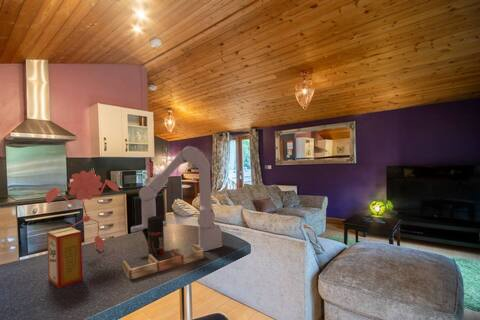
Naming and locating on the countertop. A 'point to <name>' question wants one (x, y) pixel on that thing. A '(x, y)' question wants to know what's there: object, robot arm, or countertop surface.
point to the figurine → (84, 194)
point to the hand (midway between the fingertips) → (149, 245)
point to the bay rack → (164, 262)
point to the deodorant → (155, 236)
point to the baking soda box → (64, 256)
